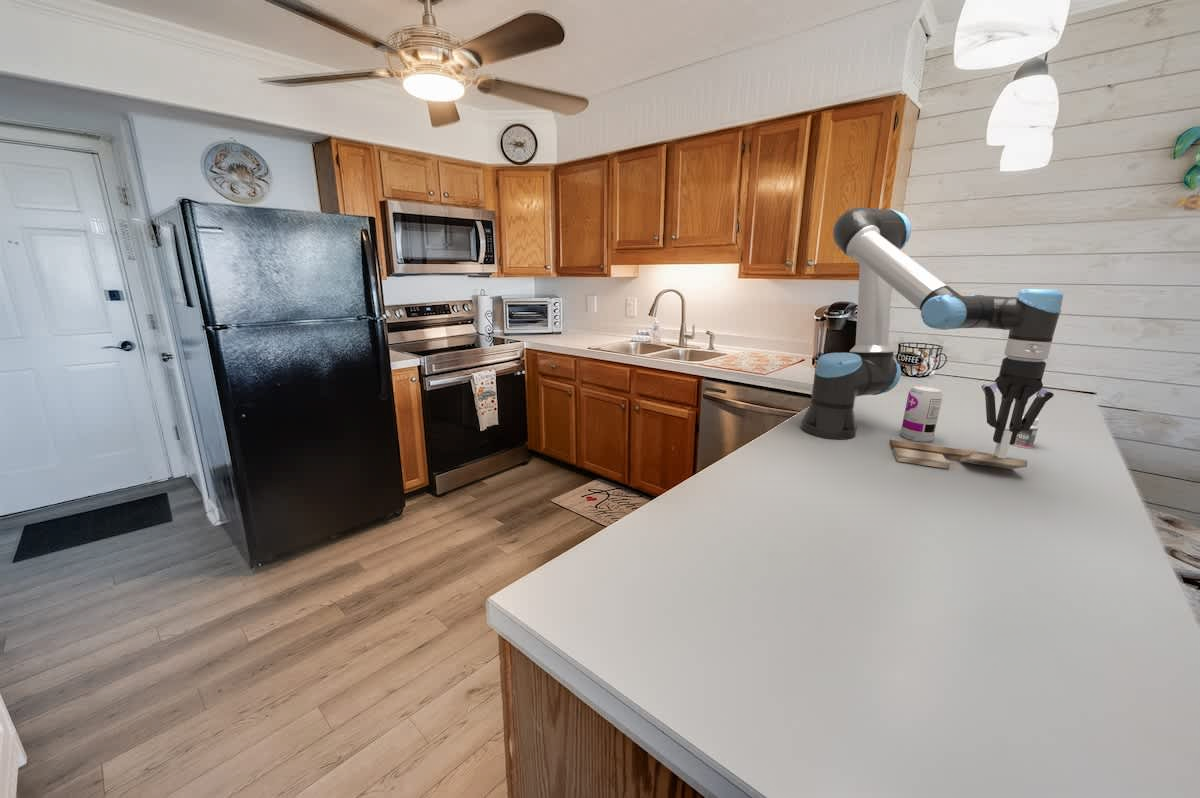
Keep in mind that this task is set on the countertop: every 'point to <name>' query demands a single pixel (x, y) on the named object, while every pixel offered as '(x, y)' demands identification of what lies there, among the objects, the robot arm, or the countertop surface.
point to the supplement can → (921, 413)
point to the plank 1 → (921, 458)
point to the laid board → (933, 449)
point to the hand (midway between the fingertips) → (999, 456)
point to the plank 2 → (994, 461)
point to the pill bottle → (1027, 436)
